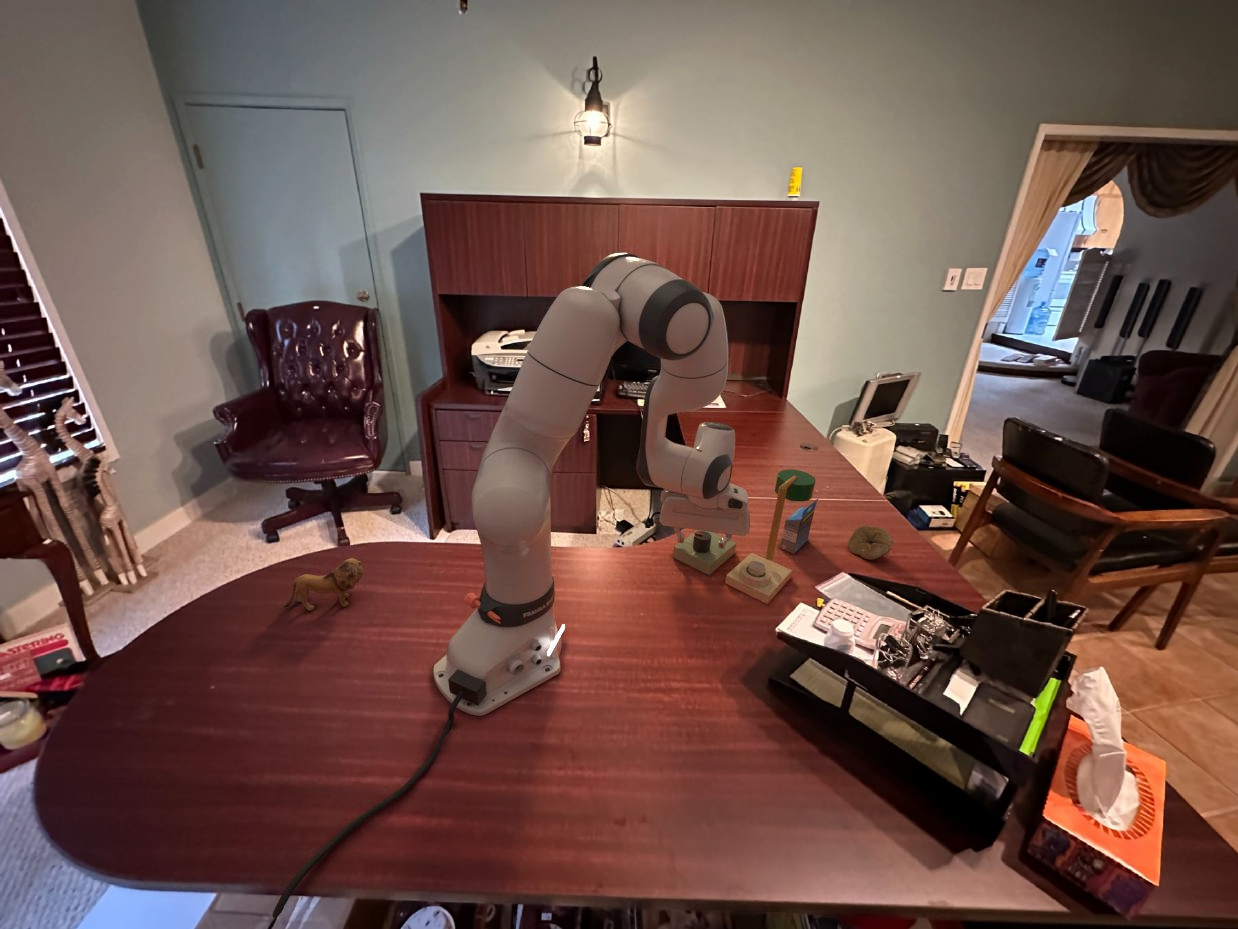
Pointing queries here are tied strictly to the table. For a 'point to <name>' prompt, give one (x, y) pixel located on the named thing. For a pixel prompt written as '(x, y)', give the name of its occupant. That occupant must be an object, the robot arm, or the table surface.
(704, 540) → the dimmer knob
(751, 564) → the lamp button
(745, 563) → the lamp base
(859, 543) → the fossil
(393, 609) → the table surface
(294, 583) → the lion figurine
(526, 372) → the robot arm
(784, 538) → the blue box
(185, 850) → the table surface
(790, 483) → the lamp
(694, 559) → the dimmer panel
